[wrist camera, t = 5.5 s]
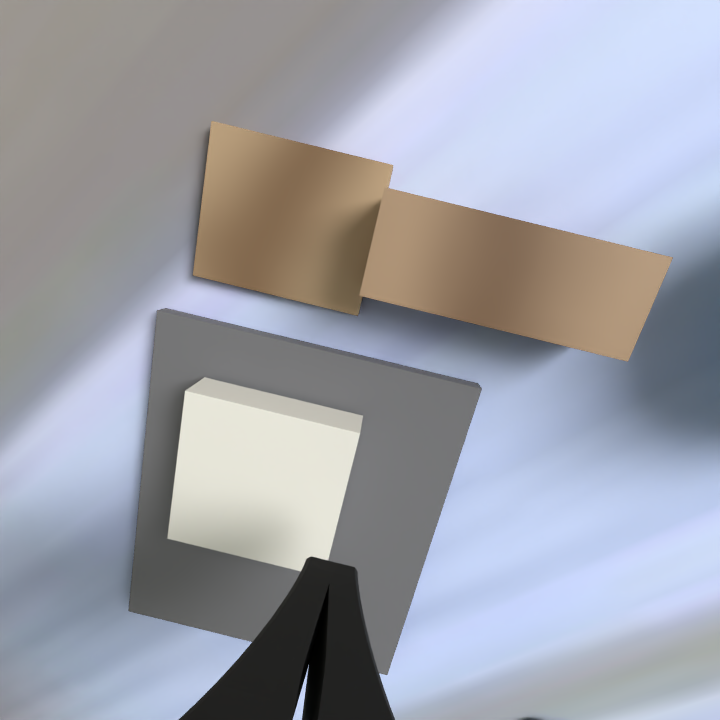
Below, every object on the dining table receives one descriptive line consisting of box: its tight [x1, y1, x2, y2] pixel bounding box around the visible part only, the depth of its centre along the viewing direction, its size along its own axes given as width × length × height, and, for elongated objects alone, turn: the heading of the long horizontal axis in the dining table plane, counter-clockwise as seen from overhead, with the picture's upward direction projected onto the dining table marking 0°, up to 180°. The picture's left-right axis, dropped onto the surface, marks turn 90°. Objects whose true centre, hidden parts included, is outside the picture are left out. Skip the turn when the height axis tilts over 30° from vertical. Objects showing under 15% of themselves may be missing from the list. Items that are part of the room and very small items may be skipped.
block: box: [167, 377, 363, 571], centre depth 15 cm, size 6×2×6 cm
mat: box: [129, 308, 482, 675], centre depth 17 cm, size 14×12×1 cm
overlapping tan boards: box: [193, 121, 673, 361], centre depth 13 cm, size 14×5×3 cm, turn 77°
